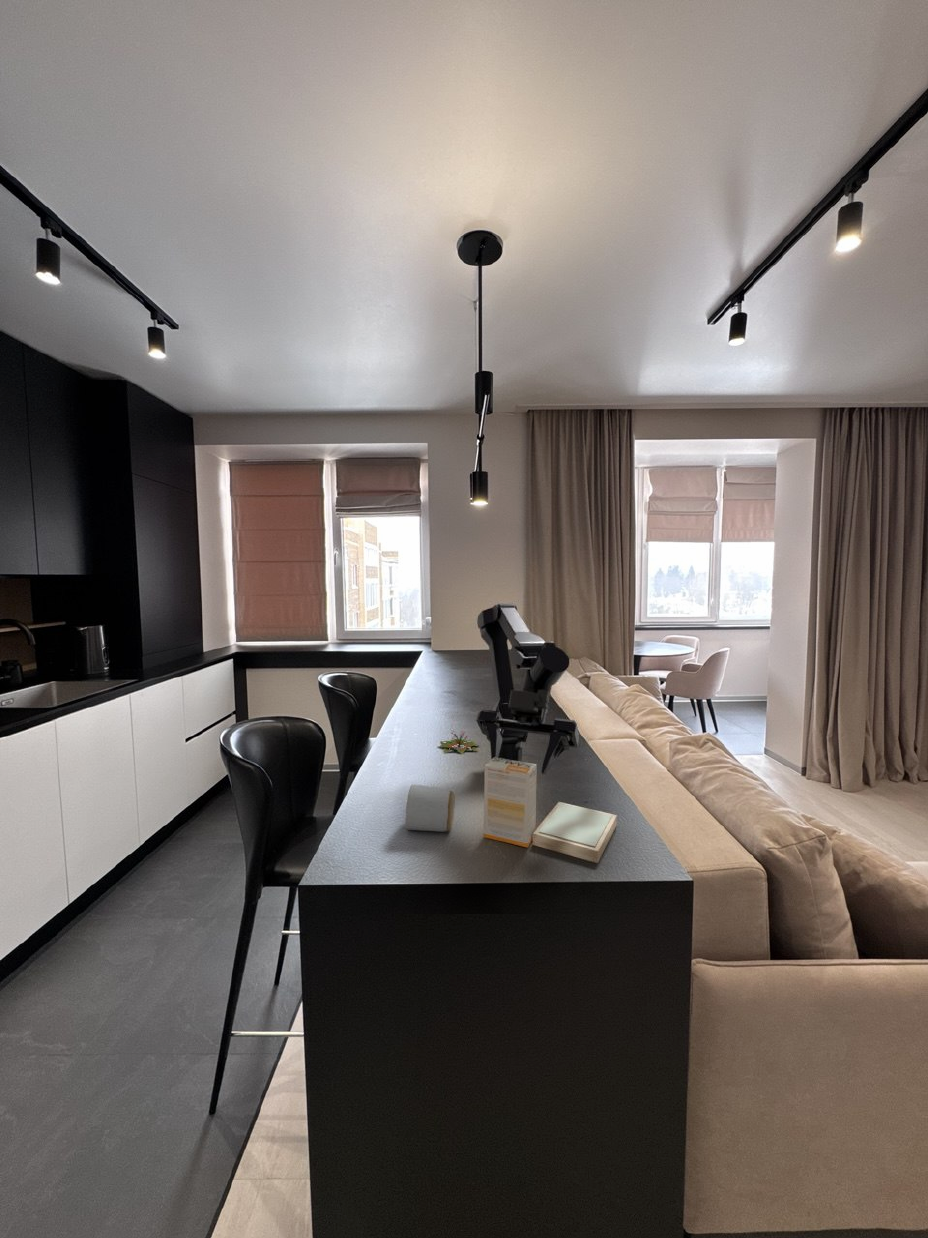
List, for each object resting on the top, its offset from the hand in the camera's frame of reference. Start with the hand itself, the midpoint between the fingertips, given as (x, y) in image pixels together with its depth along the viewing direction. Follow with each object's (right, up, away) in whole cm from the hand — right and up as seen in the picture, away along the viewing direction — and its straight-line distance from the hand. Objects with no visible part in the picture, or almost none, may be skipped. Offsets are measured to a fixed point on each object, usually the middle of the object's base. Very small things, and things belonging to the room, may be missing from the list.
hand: (517, 769), depth 92 cm
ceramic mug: (-16, -11, +2) cm, 19 cm away
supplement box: (-2, -11, -2) cm, 12 cm away
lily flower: (-11, -7, +44) cm, 46 cm away
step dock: (+10, -11, -1) cm, 15 cm away
